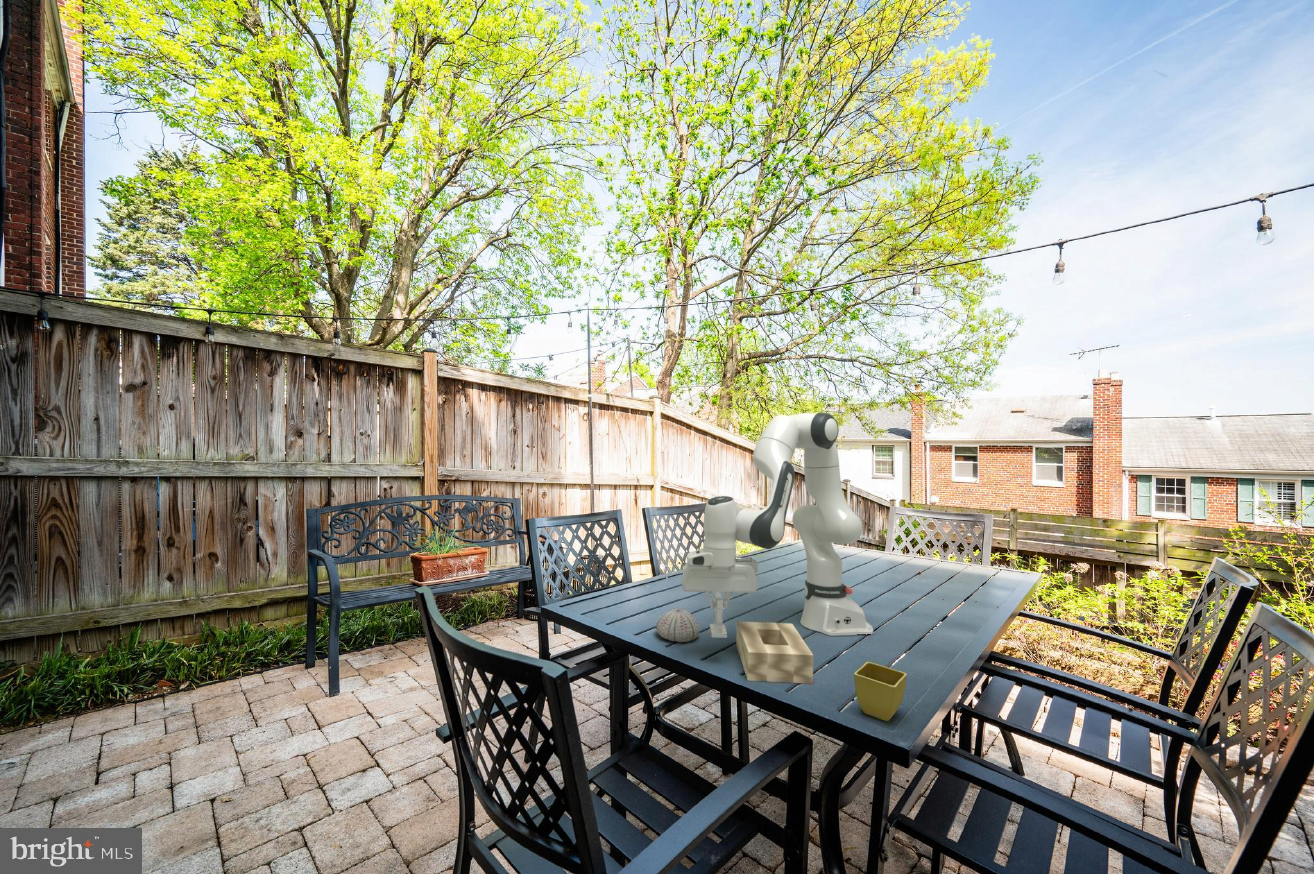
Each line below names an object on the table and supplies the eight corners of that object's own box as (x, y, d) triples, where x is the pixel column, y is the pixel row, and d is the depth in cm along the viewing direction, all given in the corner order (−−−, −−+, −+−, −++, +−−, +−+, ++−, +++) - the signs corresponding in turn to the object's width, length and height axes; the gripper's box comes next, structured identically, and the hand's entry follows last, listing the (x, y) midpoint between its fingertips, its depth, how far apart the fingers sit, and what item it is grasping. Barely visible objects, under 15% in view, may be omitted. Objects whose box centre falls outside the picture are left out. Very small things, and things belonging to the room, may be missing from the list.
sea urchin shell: (673, 625, 162) (674, 600, 162) (708, 636, 153) (709, 610, 153) (646, 636, 152) (647, 609, 152) (682, 649, 143) (683, 621, 143)
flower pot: (894, 730, 105) (895, 686, 105) (852, 714, 111) (853, 672, 111) (906, 714, 112) (907, 673, 112) (866, 699, 118) (867, 661, 118)
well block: (791, 647, 147) (792, 623, 147) (812, 683, 125) (813, 655, 125) (736, 645, 147) (737, 621, 147) (747, 680, 125) (748, 652, 125)
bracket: (724, 627, 140) (724, 591, 140) (726, 637, 133) (727, 599, 133) (709, 627, 140) (710, 591, 140) (711, 637, 133) (712, 599, 133)
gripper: (755, 555, 140) (755, 605, 140) (682, 553, 140) (681, 603, 140) (759, 560, 133) (759, 612, 133) (682, 558, 134) (681, 610, 134)
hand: (718, 607), depth 137 cm, fingers closed on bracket
